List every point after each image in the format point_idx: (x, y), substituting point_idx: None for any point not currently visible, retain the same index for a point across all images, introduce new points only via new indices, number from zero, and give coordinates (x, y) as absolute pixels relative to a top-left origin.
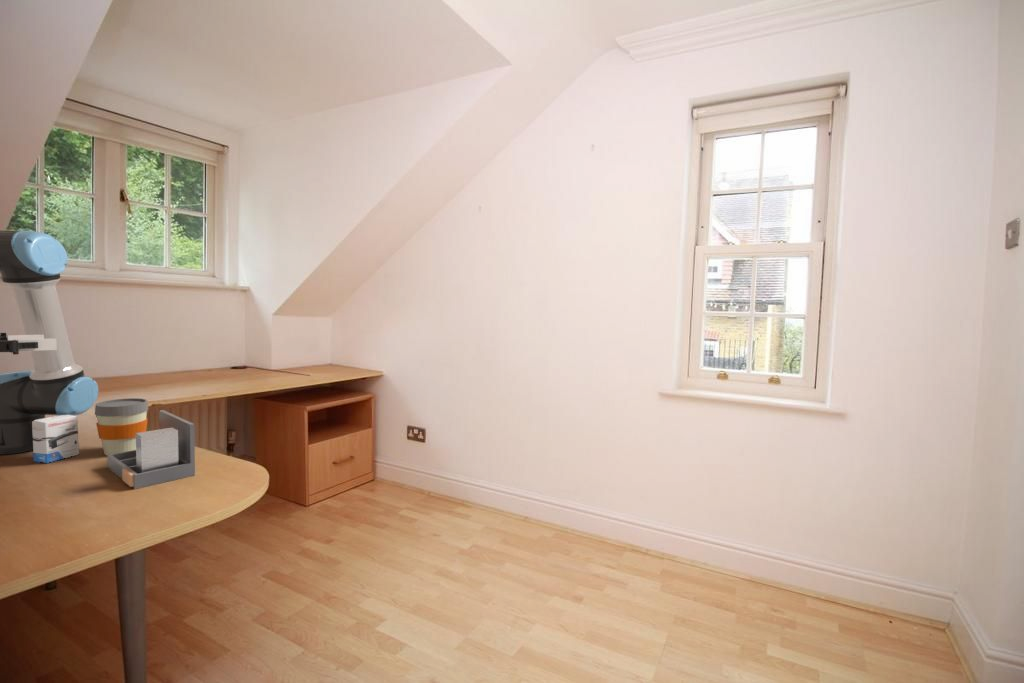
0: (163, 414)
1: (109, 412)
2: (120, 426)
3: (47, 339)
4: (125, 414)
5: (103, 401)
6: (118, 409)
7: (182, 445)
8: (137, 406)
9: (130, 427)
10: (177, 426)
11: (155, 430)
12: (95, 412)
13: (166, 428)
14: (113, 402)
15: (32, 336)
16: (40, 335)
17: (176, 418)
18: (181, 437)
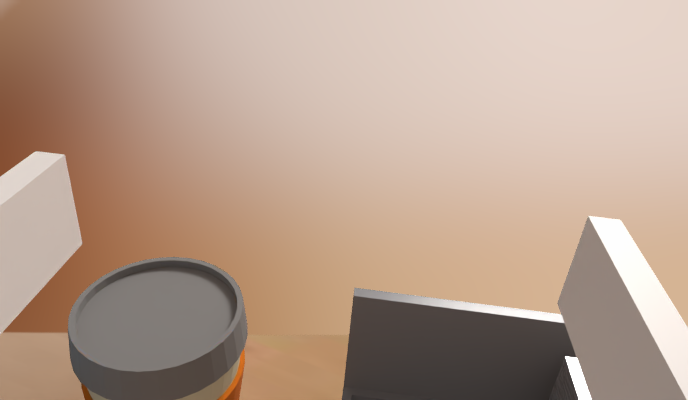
0: (395, 306)
1: (204, 375)
2: (229, 395)
3: (644, 263)
4: (239, 351)
5: (69, 329)
6: (226, 349)
7: (549, 383)
8: (243, 303)
9: (241, 378)
10: (522, 338)
11: (584, 398)
12: (123, 395)
13: (571, 370)
14: (87, 313)
15: (17, 211)
16: (51, 171)
17: (521, 317)
18: (548, 365)
